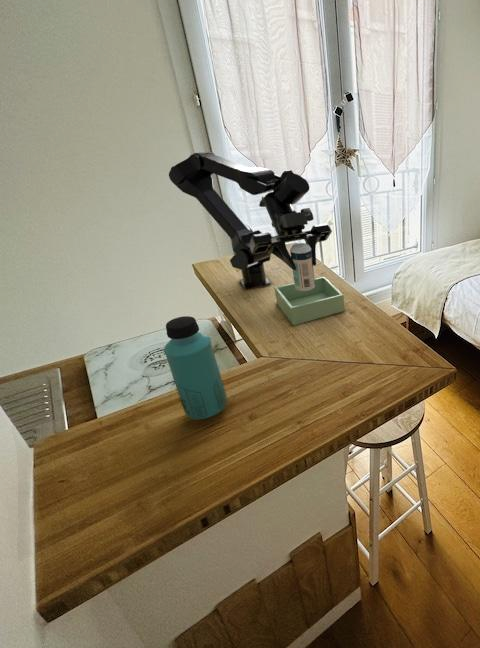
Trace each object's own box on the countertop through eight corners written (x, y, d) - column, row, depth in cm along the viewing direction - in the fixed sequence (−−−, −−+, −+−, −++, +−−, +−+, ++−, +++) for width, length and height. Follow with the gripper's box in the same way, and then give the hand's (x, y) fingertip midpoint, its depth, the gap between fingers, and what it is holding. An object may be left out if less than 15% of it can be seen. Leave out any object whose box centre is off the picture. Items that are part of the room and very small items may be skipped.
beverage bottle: (238, 407, 74) (215, 316, 65) (203, 432, 68) (174, 336, 60) (212, 396, 76) (187, 306, 67) (176, 420, 70) (143, 325, 61)
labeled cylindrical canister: (318, 285, 106) (314, 244, 101) (309, 293, 102) (304, 250, 97) (301, 282, 106) (296, 241, 101) (291, 290, 102) (285, 247, 97)
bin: (276, 303, 108) (274, 287, 106) (325, 291, 116) (324, 276, 114) (293, 325, 99) (290, 308, 97) (344, 310, 108) (343, 294, 106)
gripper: (245, 202, 90) (271, 263, 88) (325, 193, 103) (349, 246, 101) (239, 225, 98) (263, 281, 96) (314, 214, 111) (336, 264, 109)
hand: (305, 267), depth 100 cm, fingers closed on labeled cylindrical canister, 5 cm apart
